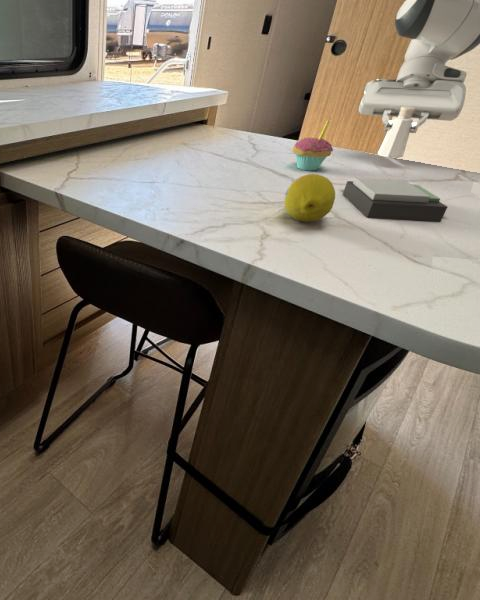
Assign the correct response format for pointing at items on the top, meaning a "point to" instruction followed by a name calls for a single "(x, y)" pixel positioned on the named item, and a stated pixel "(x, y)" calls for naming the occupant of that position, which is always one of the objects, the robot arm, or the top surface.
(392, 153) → the salt shaker
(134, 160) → the top surface
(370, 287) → the top surface
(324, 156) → the cupcake
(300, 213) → the lemon
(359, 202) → the scale
